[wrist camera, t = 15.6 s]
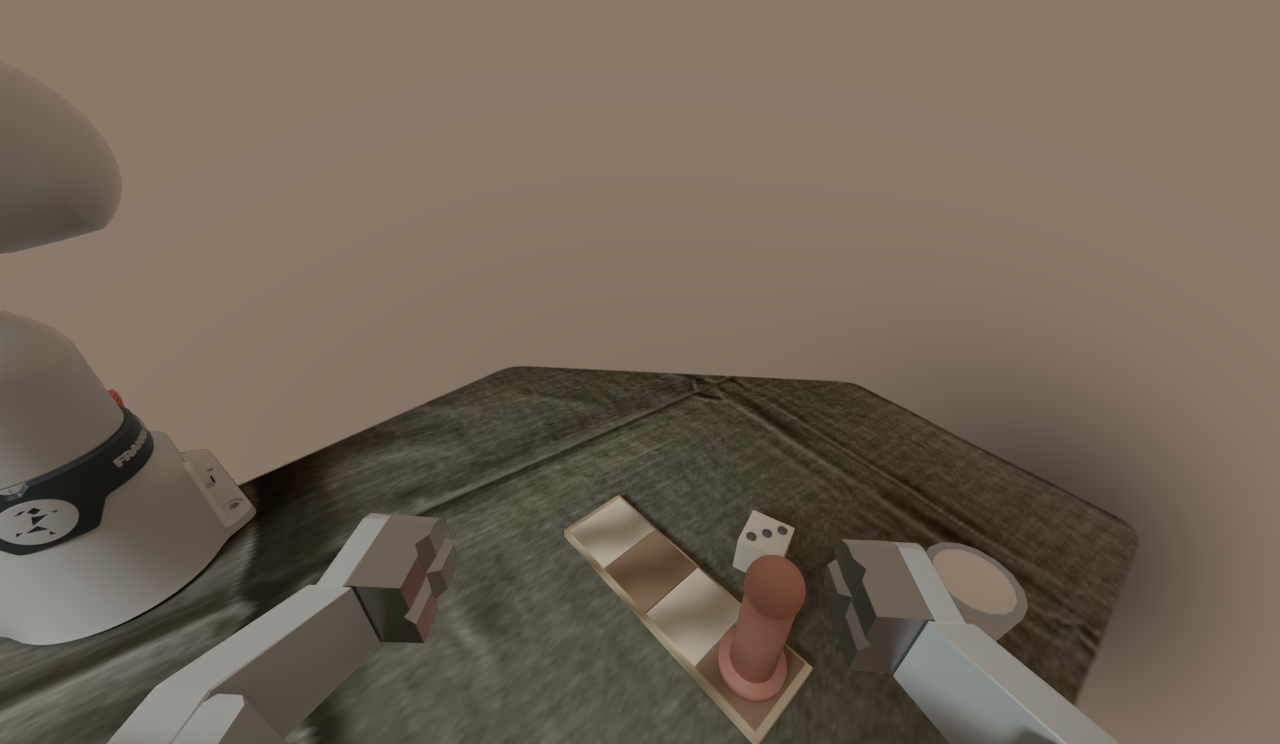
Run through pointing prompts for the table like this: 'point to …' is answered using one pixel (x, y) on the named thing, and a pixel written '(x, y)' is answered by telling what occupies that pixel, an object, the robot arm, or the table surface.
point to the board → (677, 606)
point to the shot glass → (979, 587)
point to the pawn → (762, 629)
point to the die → (761, 540)
